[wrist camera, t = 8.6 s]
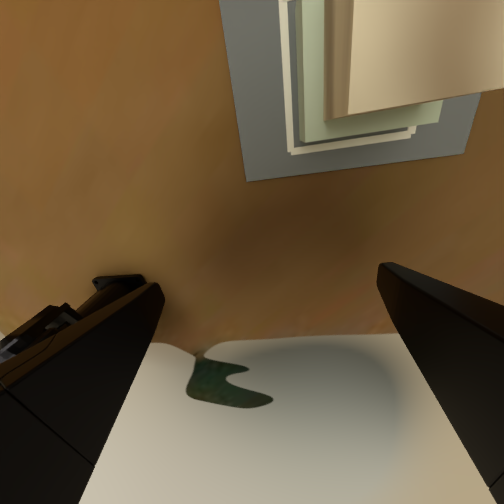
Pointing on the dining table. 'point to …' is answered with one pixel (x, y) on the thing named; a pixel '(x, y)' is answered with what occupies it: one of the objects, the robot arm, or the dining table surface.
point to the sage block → (312, 88)
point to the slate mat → (287, 111)
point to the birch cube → (409, 52)
